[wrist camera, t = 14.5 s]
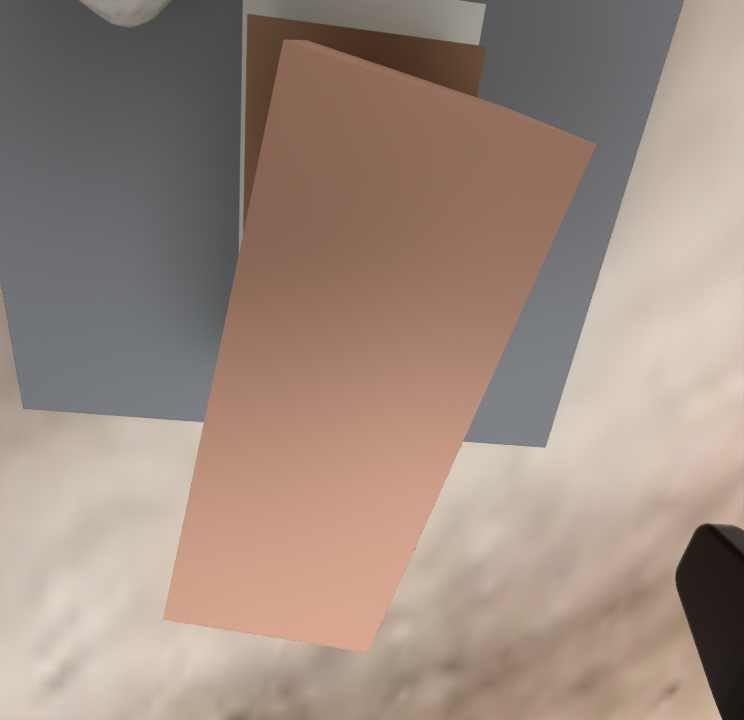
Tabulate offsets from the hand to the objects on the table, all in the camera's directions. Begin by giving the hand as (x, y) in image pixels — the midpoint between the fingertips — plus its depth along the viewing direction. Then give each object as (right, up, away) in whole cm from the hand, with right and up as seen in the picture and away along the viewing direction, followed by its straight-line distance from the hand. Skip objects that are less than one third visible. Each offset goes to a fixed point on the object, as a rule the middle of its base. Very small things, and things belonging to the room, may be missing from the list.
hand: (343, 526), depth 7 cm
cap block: (0, +3, +6) cm, 7 cm away
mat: (-2, +6, +11) cm, 12 cm away
